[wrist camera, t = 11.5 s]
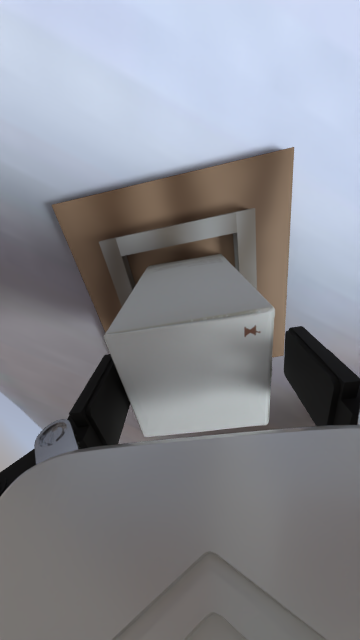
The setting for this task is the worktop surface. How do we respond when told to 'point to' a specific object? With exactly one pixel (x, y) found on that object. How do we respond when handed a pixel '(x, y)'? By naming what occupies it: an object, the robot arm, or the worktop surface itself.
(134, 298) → the supplement box
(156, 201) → the pocket board
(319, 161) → the worktop surface
